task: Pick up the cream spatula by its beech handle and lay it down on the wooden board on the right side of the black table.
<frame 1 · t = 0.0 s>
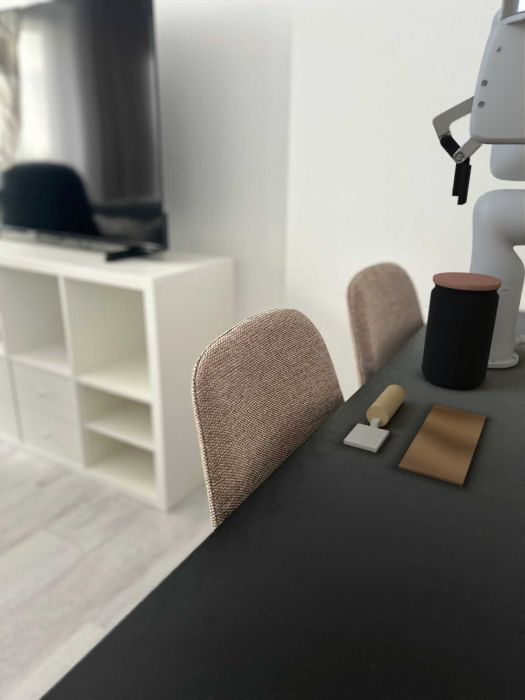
hand: (512, 206, 52), 31 cm above the table, tool pointing down, fingers open, 9 cm apart
spatula: (382, 418, 75), on the table
coffee jar: (451, 380, 90), on the table
wooden board: (446, 441, 69), on the table
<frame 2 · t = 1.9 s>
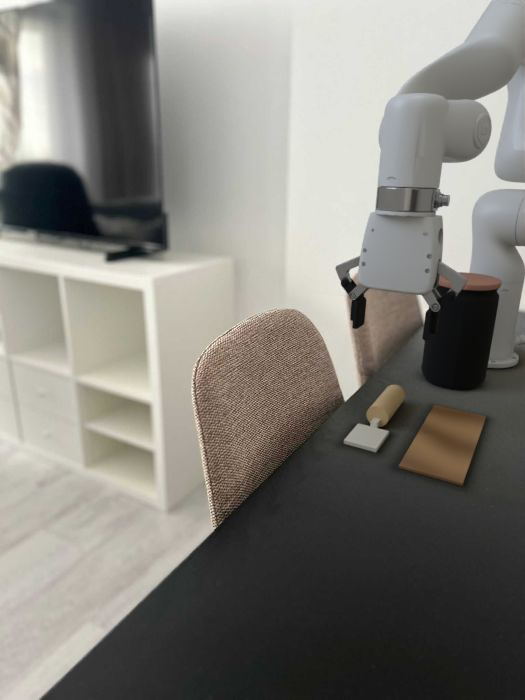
hand: (391, 332, 70), 14 cm above the table, tool pointing down, fingers open, 9 cm apart
nothing on the table moved.
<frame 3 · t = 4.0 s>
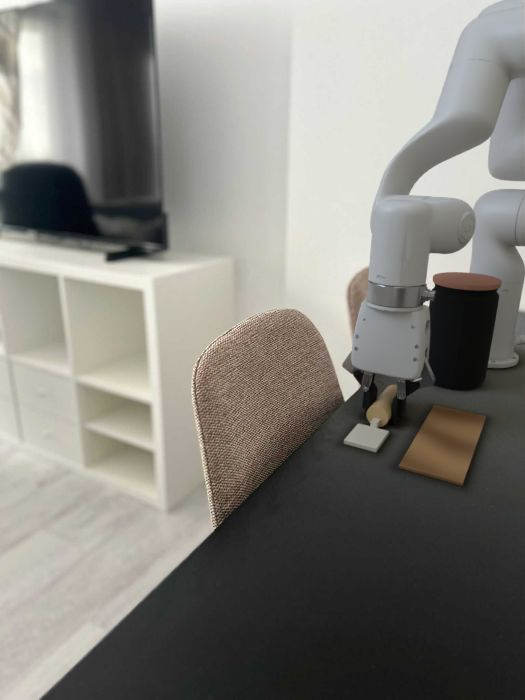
hand: (382, 415, 75), 0 cm above the table, tool pointing down, fingers closed on spatula, 3 cm apart
spatula: (382, 418, 75), on the table, touching gripper
everything else where it was.
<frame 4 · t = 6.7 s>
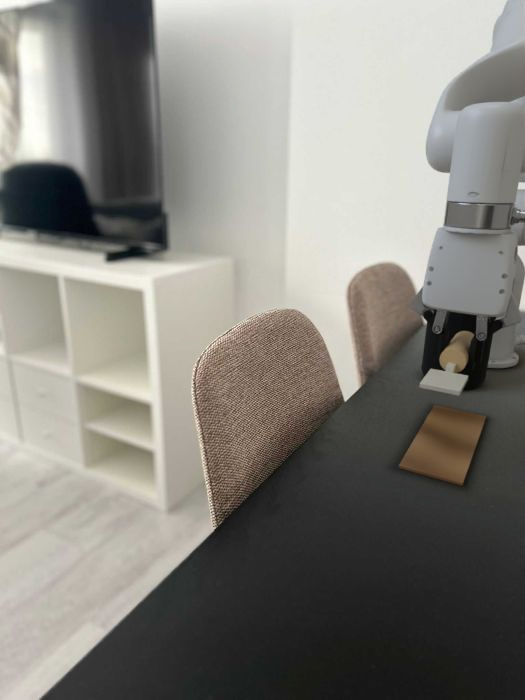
hand: (455, 362, 67), 11 cm above the table, tool pointing down, fingers closed on spatula, 3 cm apart
spatula: (455, 365, 67), point 11 cm above the table, touching gripper
everything else where it was.
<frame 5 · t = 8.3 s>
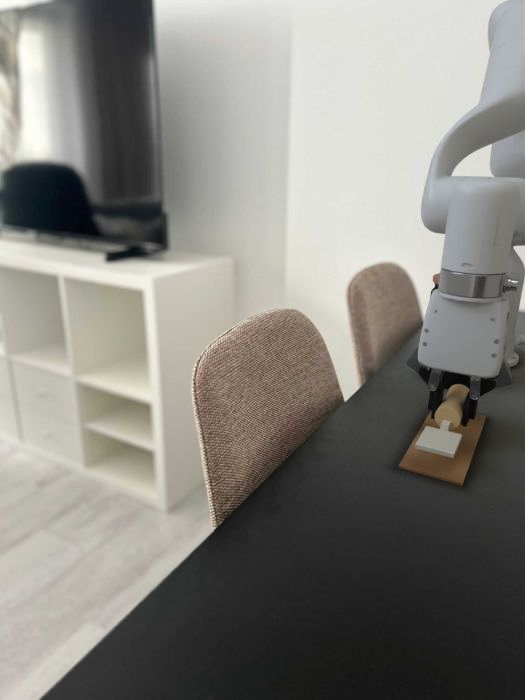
hand: (450, 417, 69), 3 cm above the table, tool pointing down, fingers closed on spatula, 3 cm apart
spatula: (450, 420, 69), point 3 cm above the table, touching gripper
everything else where it was.
when the fingers open (1 cm above the table, at t = 9.3 s): spatula stays where it is, resting on wooden board.
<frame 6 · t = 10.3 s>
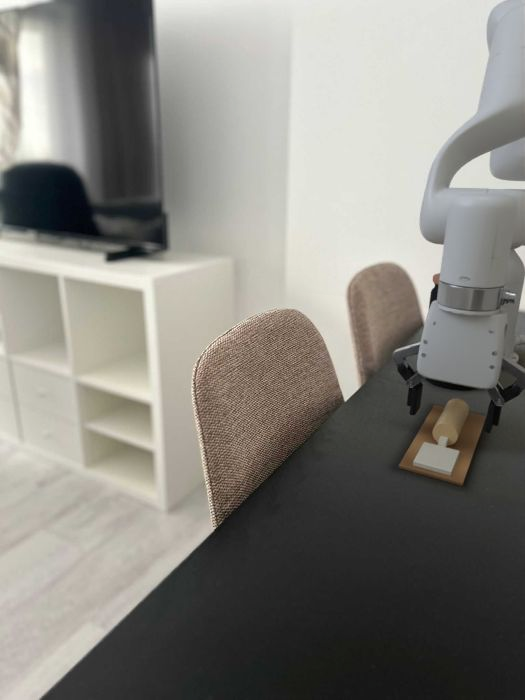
hand: (450, 419, 69), 3 cm above the table, tool pointing down, fingers open, 9 cm apart
spatula: (447, 435, 70), resting on wooden board
everything else where it was.
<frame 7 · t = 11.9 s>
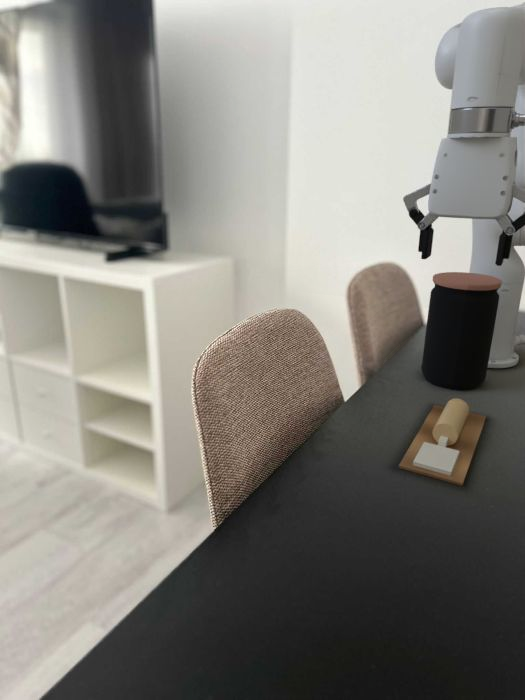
hand: (461, 260, 71), 23 cm above the table, tool pointing down, fingers open, 9 cm apart
nothing on the table moved.
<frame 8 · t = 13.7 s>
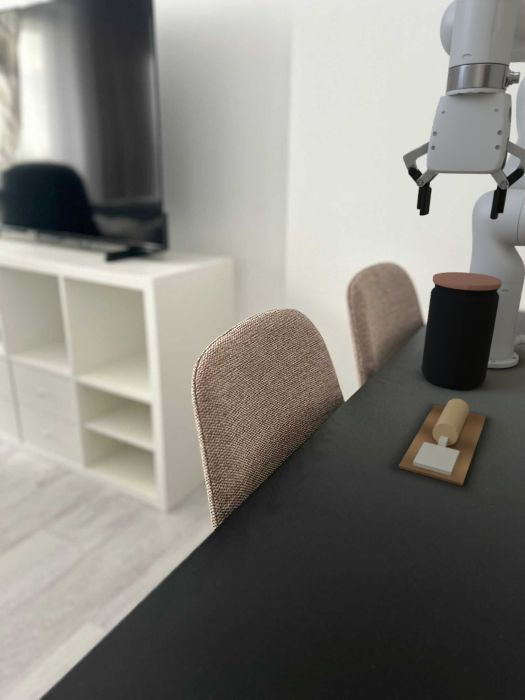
hand: (457, 216, 74), 28 cm above the table, tool pointing down, fingers open, 9 cm apart
nothing on the table moved.
at the end: spatula inside the target area on the wooden board (0.2 cm from its centre), point 0.4 cm above the wooden board's base; spatula moved 9.6 cm from its start; the gripper is holding nothing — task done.
